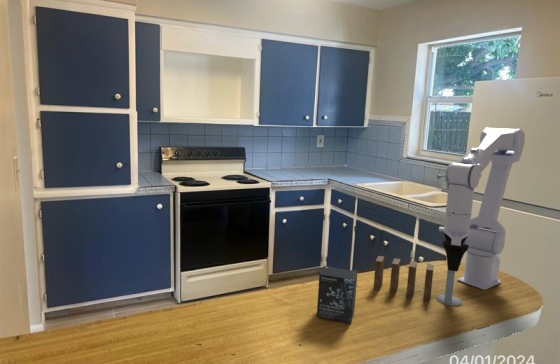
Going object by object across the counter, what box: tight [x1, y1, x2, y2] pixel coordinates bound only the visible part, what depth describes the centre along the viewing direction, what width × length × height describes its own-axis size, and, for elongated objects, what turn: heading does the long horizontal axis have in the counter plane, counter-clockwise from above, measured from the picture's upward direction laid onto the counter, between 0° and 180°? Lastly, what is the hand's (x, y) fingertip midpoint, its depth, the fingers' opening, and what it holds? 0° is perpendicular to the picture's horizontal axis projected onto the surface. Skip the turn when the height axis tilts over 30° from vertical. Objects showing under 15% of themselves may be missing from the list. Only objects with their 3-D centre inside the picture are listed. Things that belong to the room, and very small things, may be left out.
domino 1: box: [372, 255, 385, 291], centre depth 108 cm, size 2×4×8 cm, turn 157°
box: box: [316, 265, 358, 325], centre depth 91 cm, size 8×6×11 cm
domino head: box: [444, 269, 456, 304], centre depth 101 cm, size 2×4×8 cm, turn 157°
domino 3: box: [406, 260, 418, 298], centre depth 105 cm, size 2×4×8 cm, turn 157°
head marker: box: [435, 294, 463, 307], centre depth 102 cm, size 6×6×1 cm
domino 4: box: [422, 263, 435, 301], centre depth 103 cm, size 2×4×8 cm, turn 157°
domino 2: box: [389, 258, 401, 295], centre depth 106 cm, size 2×4×8 cm, turn 157°
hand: (452, 265), depth 100 cm, fingers open, 7 cm apart
